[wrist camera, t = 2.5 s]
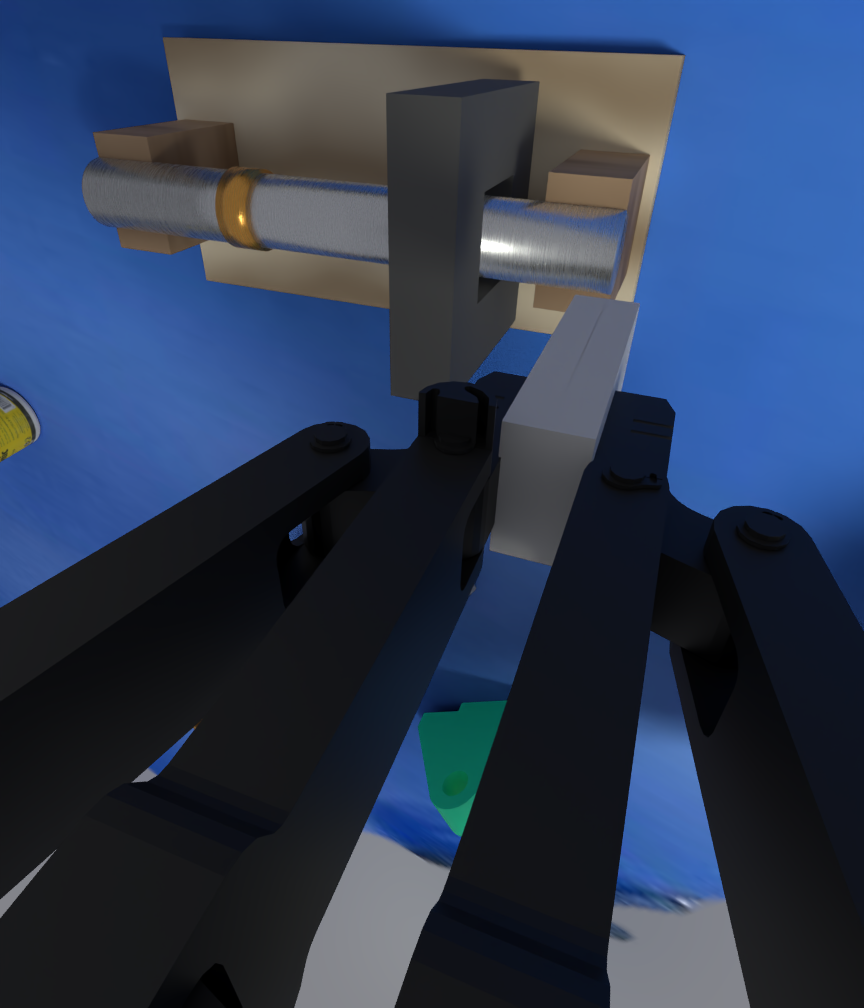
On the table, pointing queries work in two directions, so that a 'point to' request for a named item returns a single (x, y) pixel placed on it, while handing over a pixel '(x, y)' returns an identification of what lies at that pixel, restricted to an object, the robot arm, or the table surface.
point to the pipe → (349, 220)
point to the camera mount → (458, 756)
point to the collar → (450, 222)
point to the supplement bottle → (16, 423)
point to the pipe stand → (363, 142)
